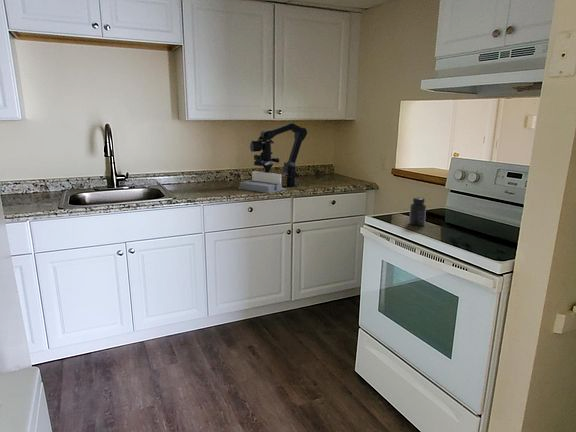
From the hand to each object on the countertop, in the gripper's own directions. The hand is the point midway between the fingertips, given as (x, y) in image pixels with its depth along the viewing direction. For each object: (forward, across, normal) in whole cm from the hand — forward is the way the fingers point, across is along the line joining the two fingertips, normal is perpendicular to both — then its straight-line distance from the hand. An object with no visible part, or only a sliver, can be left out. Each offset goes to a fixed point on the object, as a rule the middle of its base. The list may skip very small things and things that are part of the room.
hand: (267, 174), depth 275 cm
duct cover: (+1, +1, 0) cm, 2 cm away
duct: (+8, +5, 0) cm, 10 cm away
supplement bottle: (+7, +27, +112) cm, 115 cm away
